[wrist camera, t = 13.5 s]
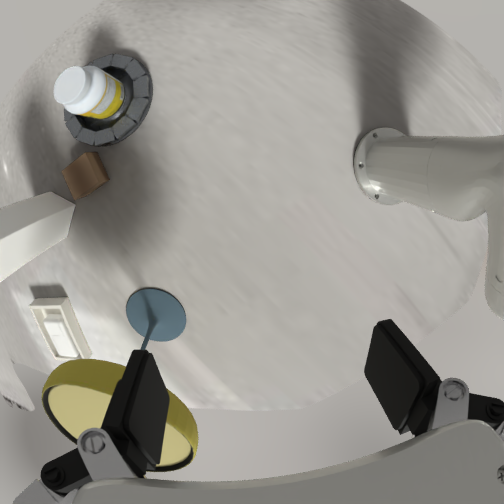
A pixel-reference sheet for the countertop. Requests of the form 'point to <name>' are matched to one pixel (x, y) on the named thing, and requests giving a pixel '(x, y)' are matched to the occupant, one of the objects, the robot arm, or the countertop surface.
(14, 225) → the milk
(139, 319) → the cocktail glass
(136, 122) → the collar
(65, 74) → the pill bottle
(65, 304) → the soap dish
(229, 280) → the countertop surface
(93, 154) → the walnut block
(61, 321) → the soap
